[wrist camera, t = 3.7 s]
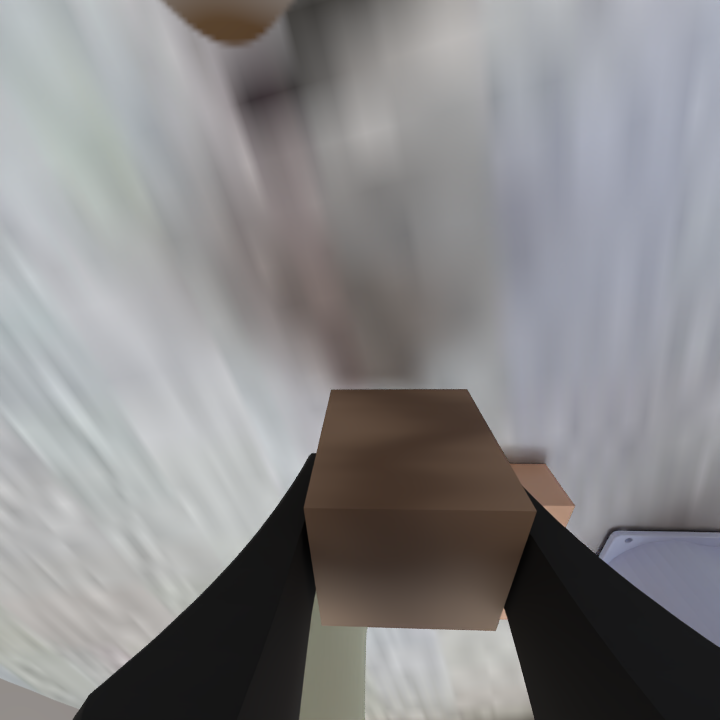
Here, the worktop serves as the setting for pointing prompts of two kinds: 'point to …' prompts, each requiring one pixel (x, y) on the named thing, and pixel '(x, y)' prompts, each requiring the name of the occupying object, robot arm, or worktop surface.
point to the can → (334, 672)
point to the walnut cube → (413, 512)
